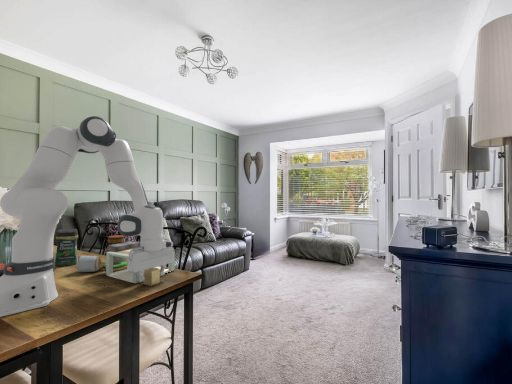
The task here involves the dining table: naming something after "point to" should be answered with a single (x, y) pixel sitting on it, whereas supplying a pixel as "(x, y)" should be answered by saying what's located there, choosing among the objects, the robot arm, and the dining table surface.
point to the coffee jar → (66, 247)
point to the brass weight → (152, 276)
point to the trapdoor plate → (123, 247)
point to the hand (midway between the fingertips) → (151, 278)
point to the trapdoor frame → (125, 273)
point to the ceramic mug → (88, 263)
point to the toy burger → (118, 260)
